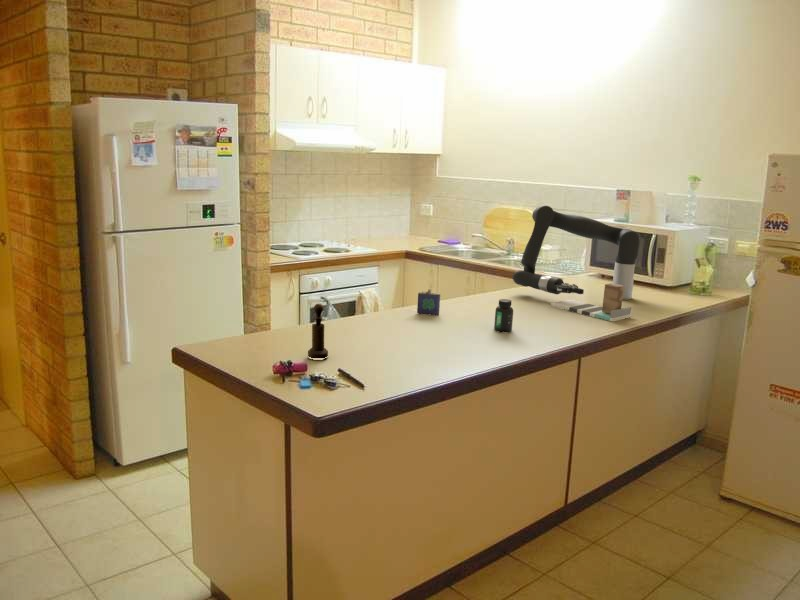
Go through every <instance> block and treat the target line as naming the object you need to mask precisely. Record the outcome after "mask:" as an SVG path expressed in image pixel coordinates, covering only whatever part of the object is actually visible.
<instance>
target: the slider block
mask: <svg viewBox="0 0 800 600" xmlns="http://www.w3.org/2000/svg"><path fill="white" fill-rule="evenodd" d="M623 290H624V286H622V285H618V284H613V282H612V283H606V284H604V291H603V299H602V306H601V307H602V312H605V313H609V314H611V311H612V310H617V309H622V304H623V300H622V298H623Z"/></svg>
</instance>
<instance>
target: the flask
mask: <svg viewBox="0 0 800 600" xmlns="http://www.w3.org/2000/svg"><path fill="white" fill-rule="evenodd" d="M440 302H441V293H438V292H437V293H434V292H432V289H431V288H428V290H427V291H422V292H418V293H417V307H416V308H417V310H416V314H417V313H419V314H418V315H421V314H431V315H430V316H439V315H440V308H441V307H440V305H441V303H440Z"/></svg>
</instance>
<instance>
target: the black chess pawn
mask: <svg viewBox="0 0 800 600" xmlns="http://www.w3.org/2000/svg"><path fill="white" fill-rule="evenodd" d="M324 309H325V308H324V306H323V304H322V303H316V304H315V305H314V307H313V310H314V312H315V314H316V315H315V317H314V322H315V323H312V325H311V348H310V349H308V351H307V357H308V356H309V357H311V358H325V357H327V356H328V357H329V351H328V349H327V348H325V324H324V323H322V321H323V316H322V313H323V311H324Z"/></svg>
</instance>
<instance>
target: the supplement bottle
mask: <svg viewBox="0 0 800 600" xmlns="http://www.w3.org/2000/svg"><path fill="white" fill-rule="evenodd" d="M512 301H513V300H511V299H508V298H507V299H506V298H499V299H498V306H496V308H495V311H494V312H495V314H494V326H493V330H494V331H495V332H497V331H499V332H498V333H502V332H508V333H511V332H512V330H513V322H514V321H513V320H514V309H513V307H512Z"/></svg>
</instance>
